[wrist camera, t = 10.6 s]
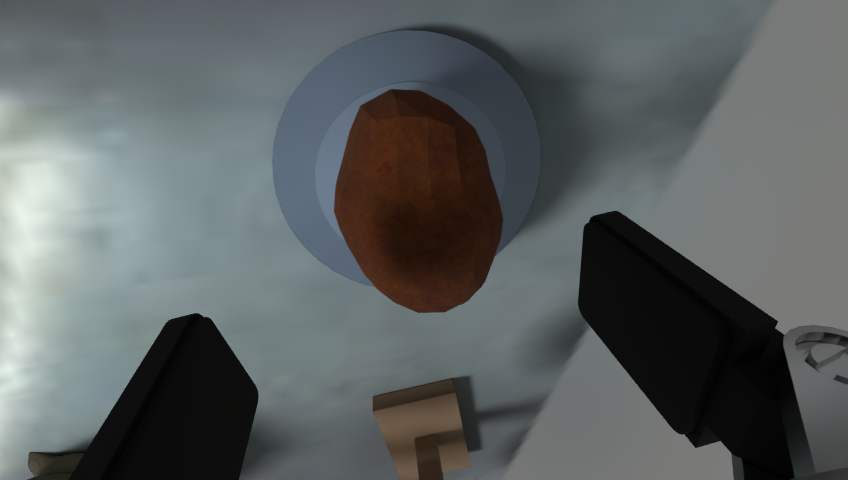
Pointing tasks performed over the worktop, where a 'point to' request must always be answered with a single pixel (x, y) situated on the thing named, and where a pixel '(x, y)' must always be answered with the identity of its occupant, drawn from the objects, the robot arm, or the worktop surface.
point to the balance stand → (423, 430)
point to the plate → (370, 77)
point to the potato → (418, 201)
